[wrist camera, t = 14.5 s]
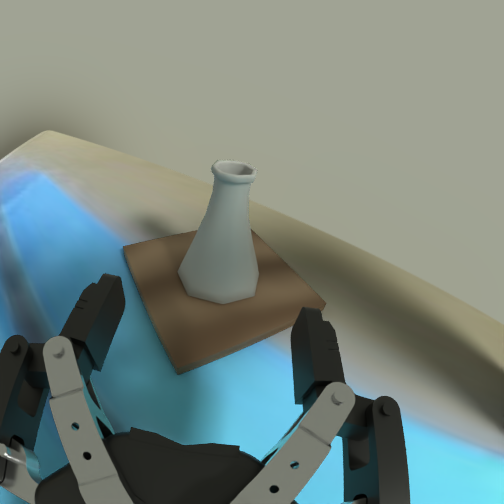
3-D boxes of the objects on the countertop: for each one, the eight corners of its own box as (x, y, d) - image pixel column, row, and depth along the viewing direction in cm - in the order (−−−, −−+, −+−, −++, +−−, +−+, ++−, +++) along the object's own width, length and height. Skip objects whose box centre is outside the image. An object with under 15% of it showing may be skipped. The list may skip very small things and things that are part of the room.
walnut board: (322, 310, 25) (326, 303, 24) (177, 374, 17) (177, 368, 17) (241, 228, 33) (243, 221, 32) (124, 254, 26) (123, 246, 25)
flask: (178, 248, 26) (184, 147, 20) (251, 251, 28) (273, 156, 22) (176, 305, 21) (179, 185, 15) (266, 306, 23) (300, 195, 17)
